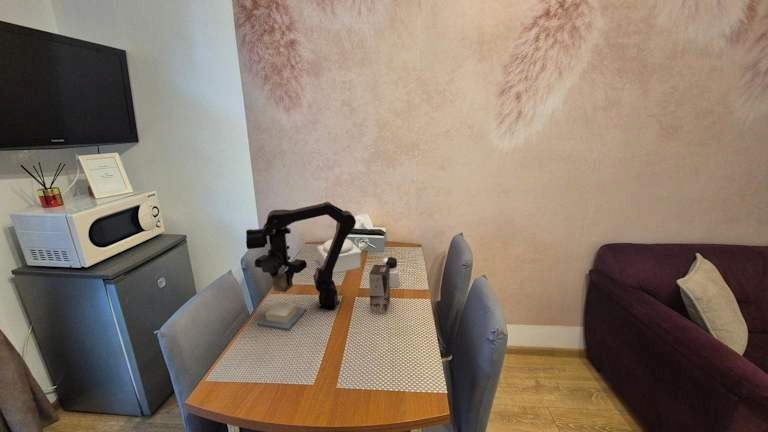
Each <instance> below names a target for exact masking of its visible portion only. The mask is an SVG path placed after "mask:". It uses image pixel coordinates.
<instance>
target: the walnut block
mask: <svg viewBox="0 0 768 432" xmlns="http://www.w3.org/2000/svg"><path fill="white" fill-rule="evenodd" d="M271 280H272V287H273V292H275V291H276V292H281V293H286V292H287V291H289V290H290V289H291V288H292V287H293V286H294V284H293V280H292V281H291V284H290V286H288V285H287V278H286V274H285V273H284V272H282V271H279V272H278V274H277V275H276V276H274V277H273V278H272V277H271Z"/></svg>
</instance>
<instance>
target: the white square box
mask: <svg viewBox="0 0 768 432" xmlns="http://www.w3.org/2000/svg"><path fill="white" fill-rule="evenodd" d="M332 241H333V238H331V239H329V240H327V241H325V242H324V243H323V244H321V245H317V247H316V252H317V253H316V254H317V262H318V264H319V265H320V268H321V267H322V266H323V264H324V262H325V259H326V256H327V254H328V251H329V249H330V246H331V243H332ZM362 253H363V252H362V250H361V249H360V248H359V247H358V246H357V245H356V244H354V242H353V241H352V240H350V239H348V238H346V239H345V241H344V244H343V247H342V249H341V252H340V254H339V257H338V259H337V262H336V264H335V267H334V270H333V275H334V274H338V273H342V272H343V273H344V272H348V271H352V270H353V271H354V270H357V269H362V258H361V257H362V255H361V254H362Z"/></svg>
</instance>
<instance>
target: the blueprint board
mask: <svg viewBox="0 0 768 432" xmlns="http://www.w3.org/2000/svg"><path fill="white" fill-rule="evenodd" d="M307 311H308V309H307V307H300V306H298V305H297V304H296V303H290V302H282V301H277V302H276V303H275V304H274V305H273V306H272V307H271V308H270V309H269V310H268V311H266V312H265V315H264V316H263V317H261V319H259V320H258V321H257V322H256V326H257V327H258V326H259V327H262V328H269V329H275V330H280V329H281V331H285V332H286V331H287V332H290V330H291V329H292V328H293V327H294V326H295V325H296V324H297V323H298V321H299V320H301V318H302V317H303V316H304V314H306V312H307Z"/></svg>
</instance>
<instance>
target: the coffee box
mask: <svg viewBox="0 0 768 432" xmlns="http://www.w3.org/2000/svg"><path fill="white" fill-rule="evenodd" d="M368 275H369V277H368V279H369V282H368V284H369V307H370V309H369V311H370V313H376V314H384V315H385V314H387V312H388V309H389V307H390V302H391V287H390V265H383V264H373V266H372V267H371V270H370V272H369V274H368Z"/></svg>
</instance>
